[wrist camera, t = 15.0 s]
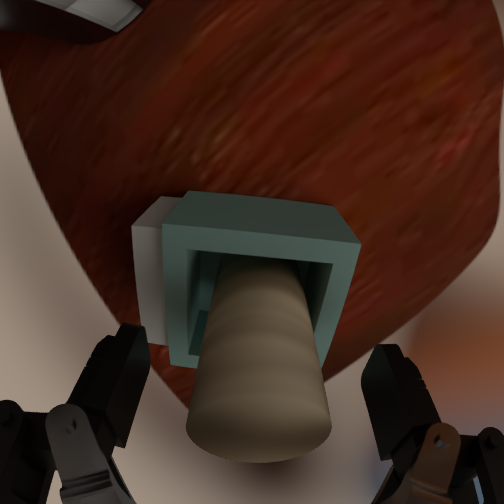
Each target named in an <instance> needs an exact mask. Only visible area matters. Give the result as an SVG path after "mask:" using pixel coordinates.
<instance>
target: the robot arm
mask: <svg viewBox="0 0 504 504" xmlns="http://www.w3.org/2000/svg"><path fill="white" fill-rule="evenodd" d="M149 370H150V352H149V346H148V341H147V335H146V329H145V327H144V326H140V325H134V324H128V323H123V324H122V325H121V326H120V328H119V330H118V332H117V334H116V336H111V335H107V336H106V337H105V338H104V339H102V340H101V341H100V342H99V343H98V344H97V345H96V347H95V349H94V351H93V352H92V354H91V358H89V360H88V362H87V364H86V367H84V369H83V371H82V373H81V375H80V377H79V379H78V381H77V383H76V385H75V387H74V389H73V391H72V393H71V395H70V397H69V399H68V401H67V402H66V403H65V404H61V405H58V406H56V407H54V408H53V409H52V410H51V411H50V412H49V413H39V412H24V411H23V410H22V409H21V407H20V406H19V405H18V404H17V403H16V402H14V401H11V400H2V401H0V504H46V501H47V497H48V493H49V489H50V485H51V482H52V479H53V475H54V472H55V470H58V473H59V476H60V479H61V482H62V488H61V489H60V497H61V500H62V503H63V504H136V502H135V501H134V499H133V497H132V496H131V494H130V492H129V490H128V488H127V486H126V484H125V482H124V480H123V478H122V476H121V474H120V472H119V470H118V468H117V466H116V464H115V462H114V460H113V457H112V453H113V449H114V446H118V447H121V448H125V446H126V442H127V439H128V436H129V433H130V429H131V426H132V423H133V420H134V417H135V413H136V410H137V407H138V404H139V401H140V398H141V395H142V391H143V389H144V386H145V383H146V380H147V377H148V374H149ZM361 388H362V392H363V395H364V399H365V402H366V406H367V409H368V413H369V417H370V420H371V424H372V428H373V432H374V435H375V440H376V443H377V447H378V452H379V456H380V459H381V461H384V460H389V459H392V461H393V465H392V466H391V468H390V469H389V471H388V473H387V475H386V477H385V479H384V481H383V483H382V485H381V487H380V489H379V491H378V493H377V494H376V496H375V498H374V499H373V501H372V503H371V504H479V501H478V497H477V493H476V489H475V485H474V482H473V478H475V477H476V476H478V479H479V482H480V486H481V490H482V493H483V497H484V503H483V504H504V435H503V434H502V433H501V432H500V431H499V430H498V429H496V428H494V427H487V428H485V429H483V430H482V431H481V432H480V433H479V434H478V436H471V435H470V436H469V435H459V433H458V431H457V430H456V429H455V428H454V427H453V426H451V425H449V424H447V423H442V422H441V420H440V417H439V415H438V412H437V410H436V408H435V405H434V403H433V401H432V398H431V396H430V394H429V392H428V390H427V389H426V385H425V383H424V380H422V376H421V374H420V372H419V370H418V368H417V366H416V365H415V364H414V363H413V362H412V361H411V360H410V359H409V358H408V357H405V358H404V356H403V354H402V351H401V349H400V347H399V346H398V345H397V344H378V345H376V346H375V348H374V350H373V352H372V354H371V356H370V358H369V360H368V362H367V364H366V367H365V369H364V370H363V373H362V376H361Z"/></svg>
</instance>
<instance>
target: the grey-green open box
mask: <svg viewBox="0 0 504 504" xmlns="http://www.w3.org/2000/svg"><path fill="white" fill-rule="evenodd" d="M162 247H163V274H164V293H165V308H166V322H167V333H168V344H169V354H170V363H171V365H177V366H183V367H191V368H197V366H198V361H199V356H200V351H201V346H202V341H203V337H204V332H205V327H206V322H207V318H208V313H209V308H210V304H211V299H212V294H213V290H214V285H215V281H216V276H217V272H218V268H219V263H220V260H221V258H222V256H223V254H224V253H232V254H242V255H252V256H262V257H272V258H282V259H292V260H296V261H297V264H298V268H299V273H300V277H301V281H302V285H303V289H304V294H305V298H306V302H307V307H308V311H309V316H310V320H311V325H312V329H313V334H314V338H315V343H316V348H317V352H318V357H319V362H320V367H321V368H322V366H323V363H324V360H325V358H326V355H327V352H328V349H329V347H330V344H331V341H332V338H333V335H334V332H335V330H336V327H337V324H338V321H339V318H340V315H341V312H342V309H343V305H344V302H345V299H346V296H347V293H348V289H349V286H350V283H351V279H352V276H353V273H354V269H355V266H356V262H357V259H358V255H359V251H360V247H361V243H360V241H359V240H358V239H357V237H356V236H355V234H354V233H353V232H352V230H351V229H350V227H349V226H348V225H347V223H346V222H345V221H344V219H343V218H342V217H341V215H340V214H339V213H338V211H337V210H336V209H335V207H334V206H329V205H322V204H314V203H306V202H298V201H290V200H282V199H273V198H264V197H255V196H245V195H235V194H224V193H213V192H201V191H187V193H186V194H185V195H184V196H183V198H182V199H181V200H180V201H179V203H178V204H177V205H176V206H175V208H174V209H173V210H172V211H171V213H170V214H169V215H168V217H167V218H166V219H165V220H164V222H163V223H162Z"/></svg>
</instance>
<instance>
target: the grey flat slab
mask: <svg viewBox="0 0 504 504" xmlns="http://www.w3.org/2000/svg"><path fill="white" fill-rule="evenodd" d="M181 199H182V198H177V197H163V196H161V197H160V198H159V199H158V200H157V201H156V202H154V203H153V204H152V205H151V206H150V207H149V208H148V209H147V210H146V211H145V212H144V213H143V214H142V215H141V216H140V217H139V218H138V219H137V220H136V222H135V223H134V224H133V225H132V242H133V256H134V267H135V278H136V287H137V296H138V304H139V312H140V319H141V326H144V327H145V329H146V335H147V341H148V343H154V344H161V345H167V346H169V344H168V333H167V322H166V308H165V293H164V274H163V247H162V223H163V222H164V220H165V219H166V218H167V217H168V215H169V214H170V213H171V211H172V210H173V209H174V208H175V206H176V205H177V204H178V203H179V201H180V200H181Z"/></svg>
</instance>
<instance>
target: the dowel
mask: <svg viewBox="0 0 504 504" xmlns="http://www.w3.org/2000/svg"><path fill="white" fill-rule="evenodd" d="M331 428H332V425H331V419H330V413H329V408H328V402H327V397H326V392H325V387H324V382H323V377H322V372H321V367H320V362H319V357H318V352H317V348H316V343H315V338H314V334H313V329H312V325H311V320H310V316H309V311H308V307H307V302H306V298H305V294H304V289H303V285H302V281H301V277H300V273H299V268H298V264H297V261H296V260H292V259H282V258H272V257H262V256H252V255H242V254H232V253H224V254H223V256H222V258H221V260H220V263H219V268H218V272H217V276H216V281H215V285H214V290H213V294H212V299H211V304H210V308H209V313H208V318H207V322H206V327H205V332H204V337H203V341H202V346H201V351H200V356H199V361H198V366H197V371H196V376H195V381H194V386H193V391H192V396H191V402H190V407H189V413H188V418H187V423H186V431H187V433H188V436H189V437H190V439H191V440H192V441H193V442H194V443H195V444H196V445H197V446H199V447H200V448H202V449H203V450H205V451H207V452H209V453H211V454H214V455H216V456H219V457H222V458H225V459H229V460H234V461H241V462H254V463H257V462H258V463H262V462H263V463H264V462H276V461H282V460H287V459H291V458H295V457H298V456H301V455H303V454H306V453H308V452H310V451H312V450H314V449H315V448H317V447H318V446H320V445H321V444H322V443H323V442H324V441H325V440H326V439H327V438H328V436H329V434H330V432H331Z"/></svg>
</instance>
